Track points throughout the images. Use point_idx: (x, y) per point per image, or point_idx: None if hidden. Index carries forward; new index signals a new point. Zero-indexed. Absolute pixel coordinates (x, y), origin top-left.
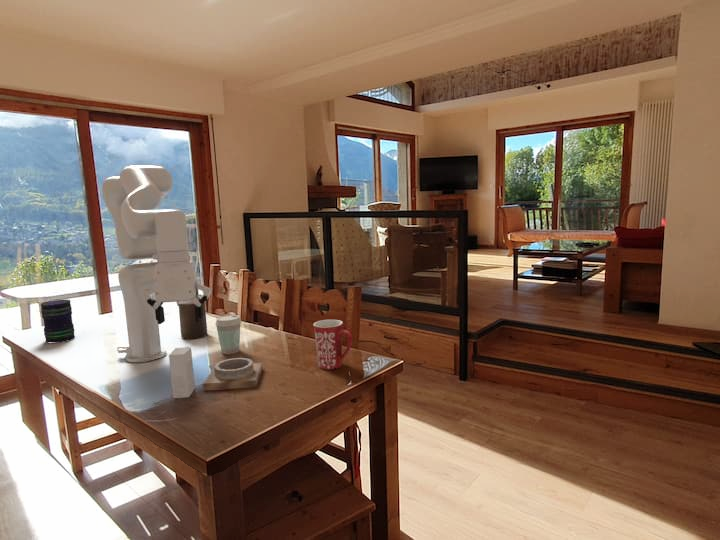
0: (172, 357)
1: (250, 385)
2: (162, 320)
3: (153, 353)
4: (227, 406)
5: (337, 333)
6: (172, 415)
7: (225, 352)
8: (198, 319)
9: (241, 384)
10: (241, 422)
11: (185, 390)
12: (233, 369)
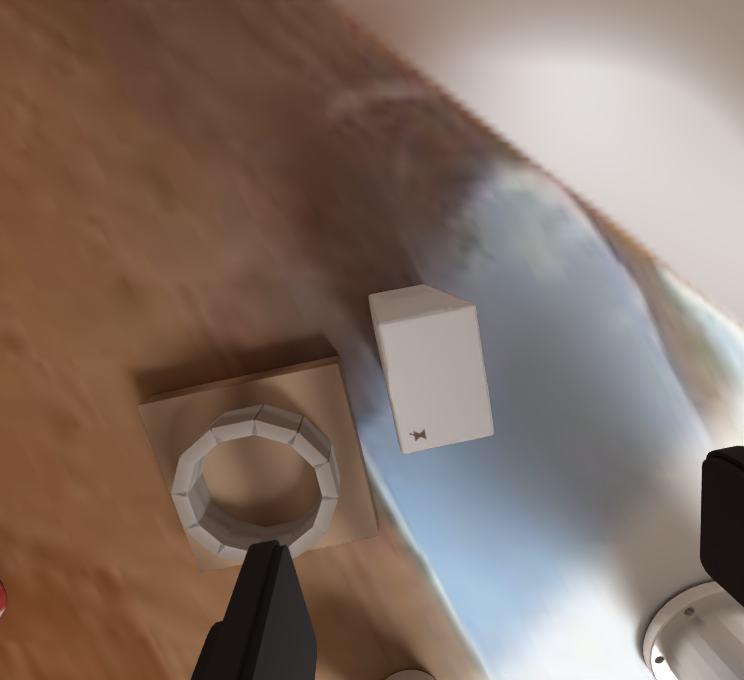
0: (449, 304)
1: (169, 393)
2: (726, 525)
3: (687, 637)
4: (179, 223)
5: None
6: (353, 137)
7: (416, 677)
8: (246, 567)
9: (199, 388)
10: (53, 87)
11: (379, 295)
12: (226, 439)
